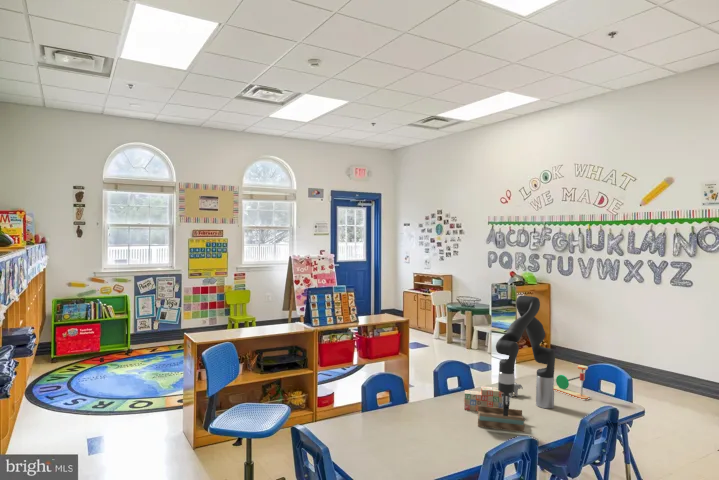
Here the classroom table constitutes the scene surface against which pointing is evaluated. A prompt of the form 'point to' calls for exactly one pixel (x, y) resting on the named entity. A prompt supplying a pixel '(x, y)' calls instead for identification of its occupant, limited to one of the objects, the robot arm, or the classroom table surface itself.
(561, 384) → the crank mechanism
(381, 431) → the classroom table surface
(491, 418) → the tailgate
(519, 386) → the gray elephant figurine
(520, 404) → the classroom table surface
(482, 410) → the cart bed
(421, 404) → the classroom table surface
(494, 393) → the stack of blocks
